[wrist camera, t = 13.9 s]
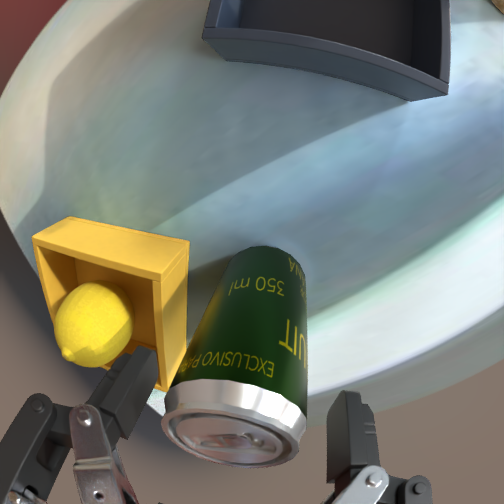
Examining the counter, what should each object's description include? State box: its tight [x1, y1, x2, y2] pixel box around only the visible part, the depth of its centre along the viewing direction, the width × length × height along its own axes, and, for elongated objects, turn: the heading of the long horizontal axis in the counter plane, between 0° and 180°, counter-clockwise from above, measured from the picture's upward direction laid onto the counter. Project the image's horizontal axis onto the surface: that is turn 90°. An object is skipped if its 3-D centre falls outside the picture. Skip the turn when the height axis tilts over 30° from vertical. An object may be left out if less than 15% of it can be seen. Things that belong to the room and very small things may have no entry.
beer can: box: [161, 246, 308, 468], centre depth 13 cm, size 5×5×12 cm
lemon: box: [54, 280, 135, 367], centre depth 17 cm, size 6×6×8 cm
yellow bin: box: [32, 216, 190, 392], centre depth 19 cm, size 11×11×5 cm
